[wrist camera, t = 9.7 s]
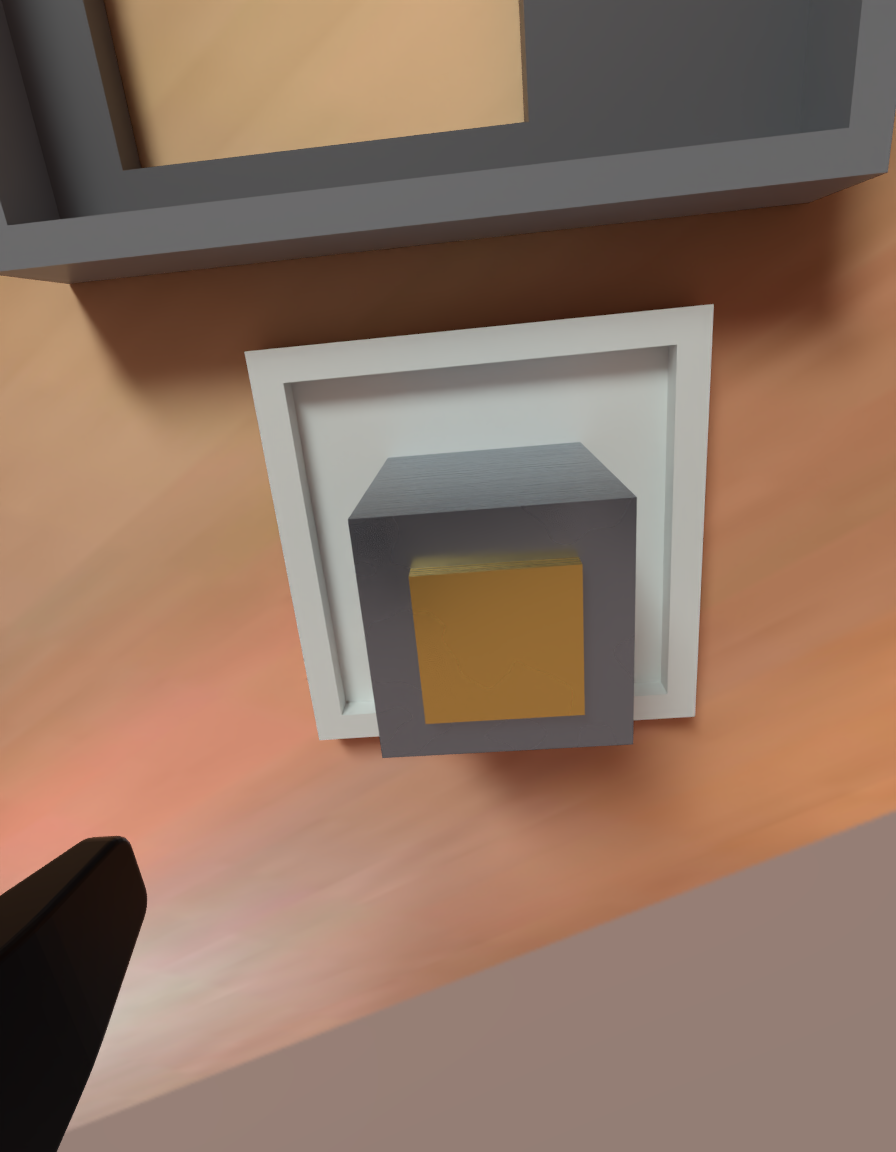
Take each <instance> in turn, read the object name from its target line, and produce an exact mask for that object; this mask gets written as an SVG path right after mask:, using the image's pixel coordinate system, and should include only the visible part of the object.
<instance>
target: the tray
mask: <svg viewBox="0 0 896 1152" xmlns="http://www.w3.org/2000/svg"><path fill="white" fill-rule="evenodd" d="M713 311H714V304H709V305H699V306H690V307H680V308H670V309H660V310H650V311H640V312H630V313H620V314H611V315H601V316H591V317H581V318H571V319H561V320H551V321H541V322H532V323H522V324H512V325H502V326H492V327H482V328H472V329H462V330H453V331H443V332H433V333H423V334H413V335H403V336H393V337H383V338H374V339H364V340H354V341H344V342H334V343H324V344H314V345H304V346H295V347H285V348H275V349H265V350H255V351H245V352H244V353H245V358H246V363H247V368H248V373H249V379H250V384H251V389H252V394H253V399H254V404H255V410H256V415H257V420H258V425H259V430H260V435H261V441H262V446H263V451H264V456H265V461H266V466H267V472H268V477H269V482H270V487H271V492H272V497H273V503H274V508H275V513H276V518H277V523H278V528H279V534H280V539H281V544H282V549H283V554H284V559H285V565H286V570H287V575H288V580H289V585H290V591H291V596H292V601H293V606H294V611H295V616H296V622H297V627H298V632H299V637H300V642H301V647H302V653H303V658H304V663H305V668H306V673H307V678H308V684H309V689H310V694H311V699H312V704H313V709H314V715H315V720H316V725H317V730H318V735H319V740H330V739H346V738H361V737H377V736H379V730H378V723H377V716H376V710H375V703H374V696H373V689H372V682H371V675H370V669H369V662H368V655H367V648H366V641H365V634H364V627H363V621H362V614H361V607H360V600H359V593H358V586H357V580H356V573H355V566H354V559H353V552H352V545H351V538H350V532H349V525H348V518H349V517H350V515H351V514H352V512H353V511H354V509H355V507H356V506H357V504H358V503H359V501H360V500H361V498H362V497H363V495H364V494H365V492H366V491H367V489H368V488H369V486H370V485H371V483H372V481H373V480H374V478H375V477H376V475H377V474H378V472H379V471H380V469H381V468H382V466H383V465H384V463H385V462H386V460H387V458H391V457H403V456H415V455H427V454H440V453H452V452H464V451H476V450H488V449H501V448H513V447H525V446H537V445H549V444H561V443H574V442H581V443H582V444H583V445H584V446H585V447H586V448H587V449H588V450H589V451H590V452H591V453H592V454H593V455H594V456H595V457H596V458H597V459H598V460H599V461H600V462H601V463H602V464H603V465H604V466H605V467H606V468H607V469H608V470H610V471H611V472H612V473H613V474H614V475H615V476H616V477H617V478H618V479H619V480H620V481H621V482H622V483H623V484H624V485H625V486H626V487H627V488H628V489H629V490H630V491H631V492H632V493H633V494H634V495H635V496H636V497H637V526H636V590H635V654H634V718H633V720H648V719H664V718H680V717H695V705H696V683H697V662H698V640H699V618H700V596H701V574H702V552H703V530H704V508H705V486H706V464H707V443H708V421H709V399H710V377H711V355H712V333H713Z"/></svg>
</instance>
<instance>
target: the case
mask: <svg viewBox="0 0 896 1152" xmlns="http://www.w3.org/2000/svg"><path fill="white" fill-rule="evenodd" d="M519 14H520V36H521V59H522V81H523V103H524V122H522V123H514V124H506V125H497V126H489V127H481V128H473V129H464V130H456V131H448V132H439V133H431V134H423V135H414V136H406V137H398V138H389V139H381V140H373V141H365V142H356V143H348V144H340V145H331V146H323V147H315V148H306V149H298V150H290V151H281V152H273V153H265V154H257V155H248V156H240V157H232V158H223V159H215V160H207V161H198V162H190V163H182V164H173V165H165V166H157V167H149V168H141V165H140V161H139V156H138V152H137V147H136V143H135V138H134V134H133V130H132V125H131V121H130V116H129V112H128V107H127V103H126V98H125V94H124V90H123V85H122V81H121V76H120V72H119V67H118V63H117V58H116V54H115V50H114V45H113V41H112V36H111V32H110V27H109V23H108V19H107V14H106V10H105V5H104V1H103V0H0V275H1V276H9V277H17V278H25V279H33V280H41V281H49V282H57V283H66V284H71V283H80V282H89V281H98V280H107V279H116V278H125V277H135V276H144V275H153V274H162V273H171V272H180V271H189V270H198V269H207V268H217V267H226V266H235V265H244V264H253V263H262V262H271V261H280V260H289V259H299V258H308V257H317V256H326V255H335V254H344V253H353V252H362V251H371V250H381V249H390V248H399V247H408V246H417V245H426V244H435V243H444V242H453V241H463V240H472V239H481V238H490V237H499V236H508V235H517V234H526V233H535V232H545V231H554V230H563V229H572V228H581V227H590V226H599V225H608V224H617V223H627V222H636V221H645V220H654V219H663V218H672V217H681V216H690V215H699V214H709V213H718V212H727V211H736V210H745V209H754V208H763V207H772V206H781V205H791V204H800V203H809V202H812V201H814V200H817V199H820V198H822V197H825V196H827V195H830V194H832V193H835V192H838V191H840V190H843V189H845V188H848V187H851V186H853V185H856V184H858V183H861V182H864V181H866V180H869V179H871V178H874V177H877V176H879V175H882V174H884V173H887V172H888V165H889V157H890V149H891V141H892V133H893V125H894V117H895V109H896V0H519Z"/></svg>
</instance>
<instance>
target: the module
mask: <svg viewBox="0 0 896 1152" xmlns="http://www.w3.org/2000/svg"><path fill="white" fill-rule="evenodd" d="M348 525H349V532H350V538H351V545H352V552H353V559H354V566H355V573H356V580H357V586H358V593H359V600H360V607H361V614H362V621H363V627H364V634H365V641H366V648H367V655H368V662H369V669H370V675H371V682H372V689H373V696H374V703H375V710H376V716H377V723H378V730H379V737H380V744H381V751H382V758H390V757H408V756H426V755H445V754H463V753H482V752H500V751H518V750H537V749H555V748H573V747H592V746H610V745H628V744H633V718H634V654H635V590H636V526H637V497H636V496H635V495H634V494H633V493H632V492H631V491H630V490H629V489H628V488H627V487H626V486H625V485H624V484H623V483H622V482H621V481H620V480H619V479H618V478H617V477H616V476H615V475H614V474H613V473H612V472H611V471H610V470H608V469H607V468H606V467H605V466H604V465H603V464H602V463H601V462H600V461H599V460H598V459H597V458H596V457H595V456H594V455H593V454H592V453H591V452H590V451H589V450H588V449H587V448H586V447H585V446H584V445H583V444H582V443H581V442H574V443H561V444H549V445H537V446H525V447H513V448H501V449H488V450H476V451H464V452H452V453H440V454H427V455H415V456H403V457H391V458H387V460H386V462H385V463H384V465H383V466H382V468H381V469H380V471H379V472H378V474H377V475H376V477H375V478H374V480H373V481H372V483H371V485H370V486H369V488H368V489H367V491H366V492H365V494H364V495H363V497H362V498H361V500H360V501H359V503H358V504H357V506H356V507H355V509H354V511H353V512H352V514H351V515H350V517H349V518H348Z"/></svg>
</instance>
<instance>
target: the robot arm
mask: <svg viewBox="0 0 896 1152" xmlns="http://www.w3.org/2000/svg"><path fill="white" fill-rule="evenodd" d="M146 907H147V893H146V888H145V885H144V882H143V879H142V876H141V873H140V870H139V867H138V864H137V861H136V858H135V855H134V852H133V850H132V847H131V844H130V842H129V841H128V840H127V839H126V838H124V837H121V836H107V837H92V838H87V839H85V840H83V841H81V842H79V843H78V844H76V845H75V846H73V847H72V848H70V849H69V850H67V851H66V852H64V853H63V854H62V855H60V856H59V857H57V858H56V859H54V860H53V861H51V862H50V863H48V864H47V865H45V866H44V867H42V868H41V869H39V870H38V871H36V872H35V873H33V874H32V875H30V876H29V877H27V878H26V879H24V880H23V881H21V882H20V883H18V884H17V885H15V886H14V887H12V888H11V889H9V890H8V891H6V892H5V893H3V894H2V895H0V1152H57V1150H58V1147H59V1145H60V1143H61V1141H62V1138H63V1136H64V1134H65V1131H66V1129H67V1127H68V1125H69V1122H70V1120H71V1118H72V1115H73V1113H74V1111H75V1109H76V1106H77V1104H78V1102H79V1099H80V1097H81V1095H82V1092H83V1090H84V1088H85V1085H86V1083H87V1080H88V1078H89V1076H90V1073H91V1071H92V1068H93V1066H94V1063H95V1060H96V1058H97V1055H98V1052H99V1049H100V1047H101V1044H102V1041H103V1038H104V1035H105V1033H106V1030H107V1027H108V1024H109V1021H110V1018H111V1015H112V1012H113V1009H114V1006H115V1003H116V1000H117V997H118V994H119V991H120V988H121V985H122V982H123V979H124V976H125V973H126V970H127V967H128V964H129V961H130V958H131V955H132V952H133V950H134V947H135V944H136V941H137V938H138V935H139V932H140V929H141V926H142V923H143V920H144V917H145V913H146Z"/></svg>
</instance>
